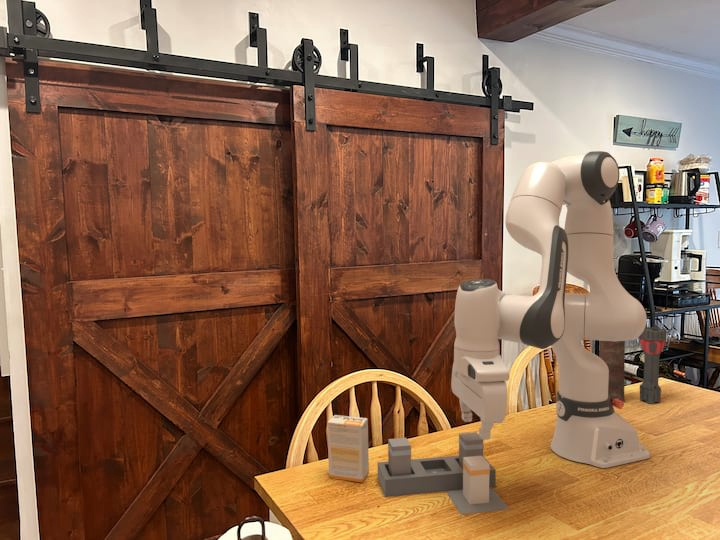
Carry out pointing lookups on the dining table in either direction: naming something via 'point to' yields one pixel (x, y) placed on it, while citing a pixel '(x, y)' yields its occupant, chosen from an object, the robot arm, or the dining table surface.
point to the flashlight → (651, 362)
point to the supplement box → (348, 448)
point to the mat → (466, 508)
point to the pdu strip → (427, 477)
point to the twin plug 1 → (399, 457)
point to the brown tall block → (614, 366)
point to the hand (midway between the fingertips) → (475, 429)
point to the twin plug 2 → (470, 446)
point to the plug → (476, 479)
